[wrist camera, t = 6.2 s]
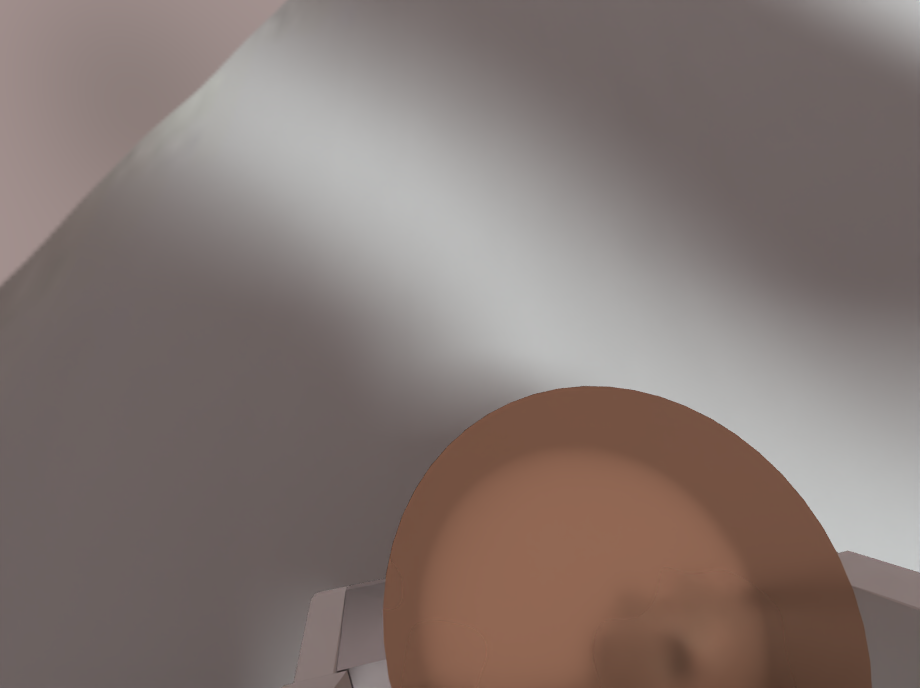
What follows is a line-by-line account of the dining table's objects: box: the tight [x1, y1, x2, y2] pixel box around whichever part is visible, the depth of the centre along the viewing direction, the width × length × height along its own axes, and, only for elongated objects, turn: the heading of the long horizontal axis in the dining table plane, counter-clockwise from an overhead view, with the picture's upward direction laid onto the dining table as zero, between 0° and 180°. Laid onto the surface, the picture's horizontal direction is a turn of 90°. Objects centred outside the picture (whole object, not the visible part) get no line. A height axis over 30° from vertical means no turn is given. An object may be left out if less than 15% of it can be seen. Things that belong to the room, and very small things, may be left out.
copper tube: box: [383, 386, 872, 688], centre depth 9 cm, size 4×4×10 cm
